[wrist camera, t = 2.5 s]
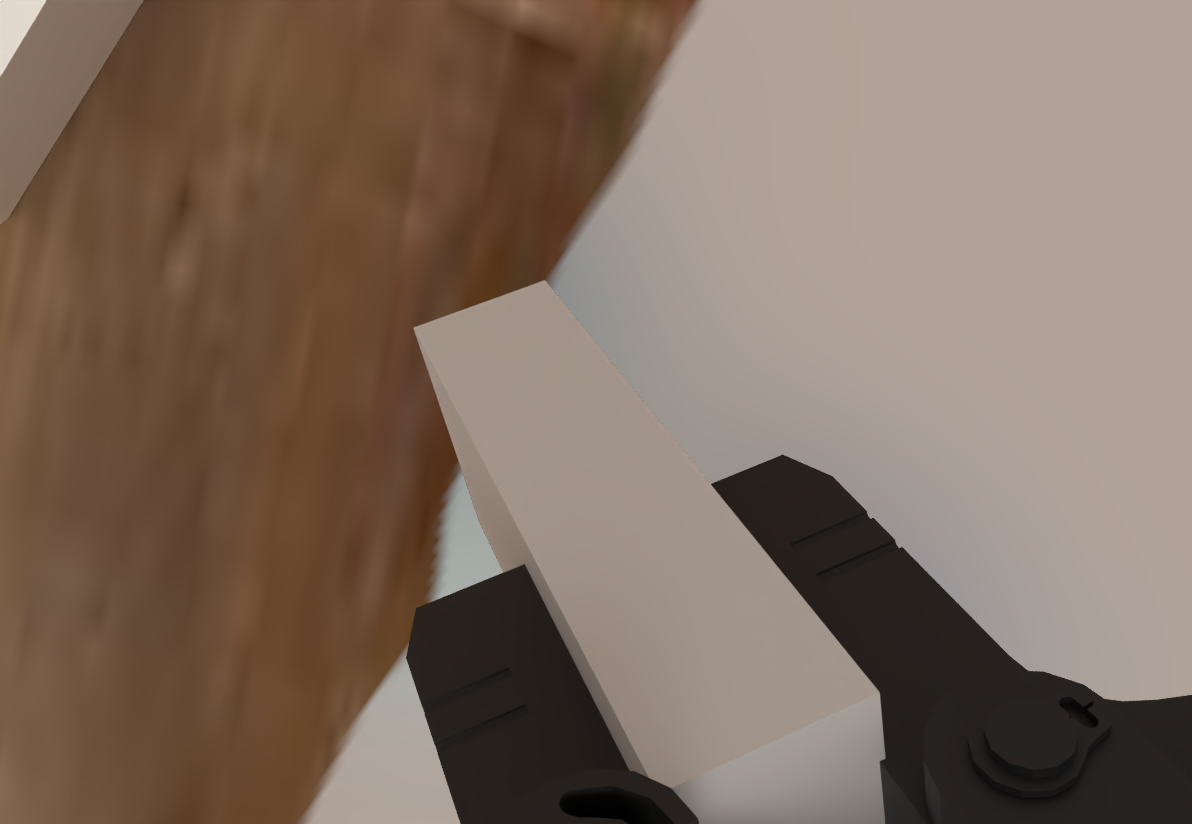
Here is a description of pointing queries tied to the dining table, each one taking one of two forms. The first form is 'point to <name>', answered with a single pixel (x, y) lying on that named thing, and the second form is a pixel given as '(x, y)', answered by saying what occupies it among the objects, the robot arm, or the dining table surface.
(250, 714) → the dining table surface
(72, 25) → the case
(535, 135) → the dining table surface
